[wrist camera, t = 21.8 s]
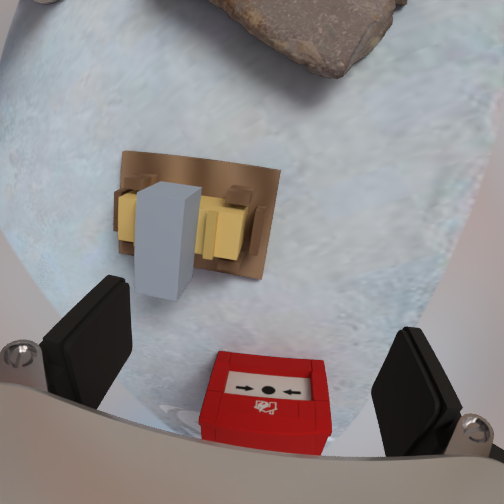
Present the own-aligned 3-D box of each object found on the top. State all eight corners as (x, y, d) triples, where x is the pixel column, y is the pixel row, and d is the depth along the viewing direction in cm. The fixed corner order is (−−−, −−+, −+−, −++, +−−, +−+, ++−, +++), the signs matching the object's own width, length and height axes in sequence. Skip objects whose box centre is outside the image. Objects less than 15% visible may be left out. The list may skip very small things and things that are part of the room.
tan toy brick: (138, 224, 41) (114, 242, 35) (140, 187, 39) (114, 199, 33) (243, 241, 41) (235, 263, 34) (248, 202, 39) (241, 217, 32)
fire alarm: (324, 357, 47) (333, 434, 33) (312, 404, 51) (315, 475, 37) (218, 347, 48) (196, 421, 34) (218, 395, 52) (201, 465, 38)
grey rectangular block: (155, 267, 36) (134, 292, 31) (160, 181, 33) (137, 192, 27) (192, 275, 36) (176, 301, 31) (202, 187, 32) (185, 199, 27)
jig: (122, 250, 44) (103, 265, 39) (125, 150, 39) (105, 154, 33) (262, 276, 43) (259, 296, 38) (280, 170, 38) (280, 176, 33)
